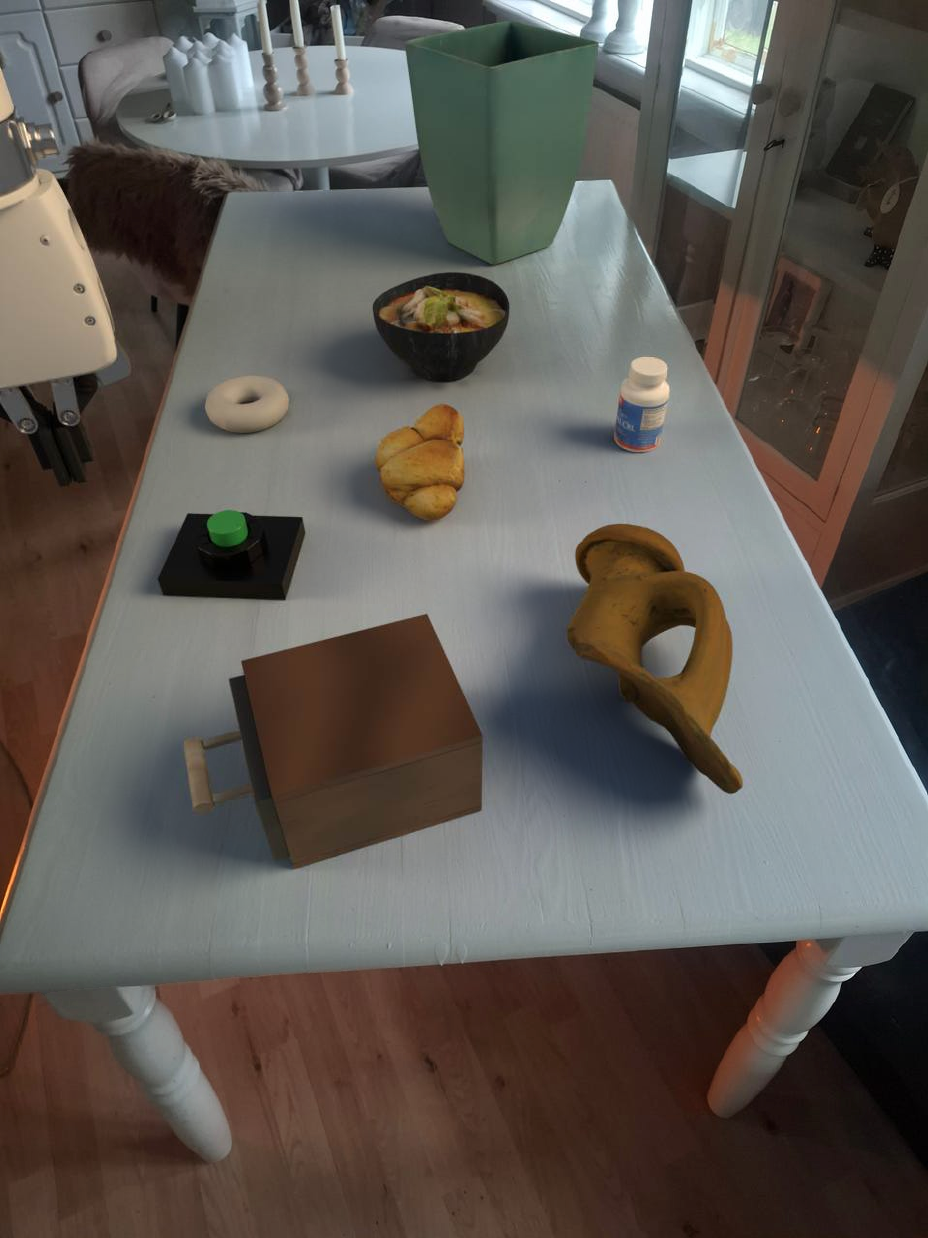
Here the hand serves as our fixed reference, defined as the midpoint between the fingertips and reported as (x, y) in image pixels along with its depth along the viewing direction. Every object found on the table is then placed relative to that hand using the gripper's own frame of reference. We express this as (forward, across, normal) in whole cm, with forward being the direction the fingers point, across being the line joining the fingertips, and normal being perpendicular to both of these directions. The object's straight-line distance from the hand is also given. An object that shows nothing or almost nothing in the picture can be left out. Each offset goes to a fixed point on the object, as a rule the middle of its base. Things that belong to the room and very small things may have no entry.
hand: (73, 471), depth 55 cm
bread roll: (+25, -29, -22) cm, 45 cm away
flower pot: (+25, -61, -82) cm, 105 cm away
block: (+25, -8, -18) cm, 32 cm away
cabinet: (+25, -14, +11) cm, 31 cm away
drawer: (+24, -10, +11) cm, 29 cm away
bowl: (+25, -40, -48) cm, 67 cm away
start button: (+22, -8, -18) cm, 29 cm away
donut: (+25, -14, -44) cm, 53 cm away
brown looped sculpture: (+25, -39, +11) cm, 48 cm away
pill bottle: (+25, -56, -23) cm, 66 cm away
